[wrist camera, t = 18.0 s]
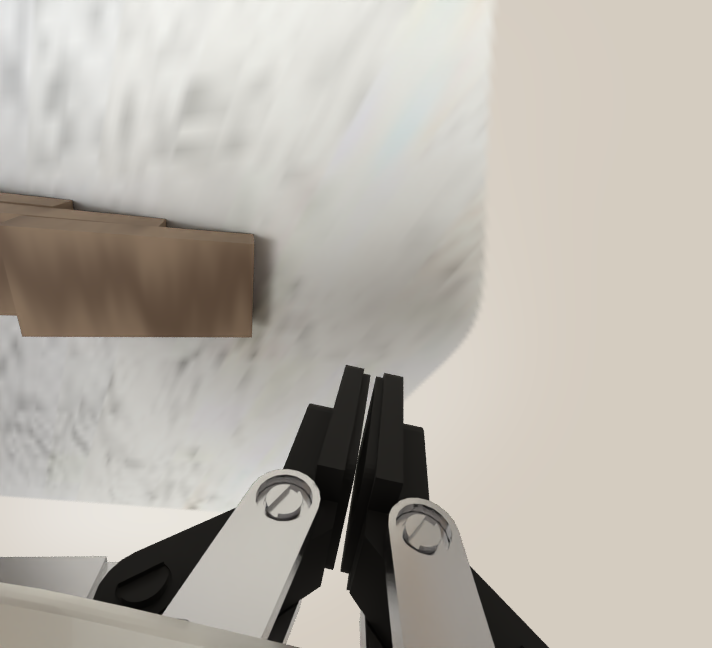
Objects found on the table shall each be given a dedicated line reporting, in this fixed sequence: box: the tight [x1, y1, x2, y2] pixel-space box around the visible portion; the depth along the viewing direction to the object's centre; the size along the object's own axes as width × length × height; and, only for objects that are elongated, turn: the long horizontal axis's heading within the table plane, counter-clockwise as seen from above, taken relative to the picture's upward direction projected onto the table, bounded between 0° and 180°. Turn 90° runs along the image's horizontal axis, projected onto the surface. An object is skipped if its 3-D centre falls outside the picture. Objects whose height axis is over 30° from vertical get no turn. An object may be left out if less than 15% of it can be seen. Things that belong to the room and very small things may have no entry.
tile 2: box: [0, 203, 166, 316], centre depth 19 cm, size 5×2×10 cm
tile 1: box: [0, 216, 254, 337], centre depth 18 cm, size 5×2×10 cm
